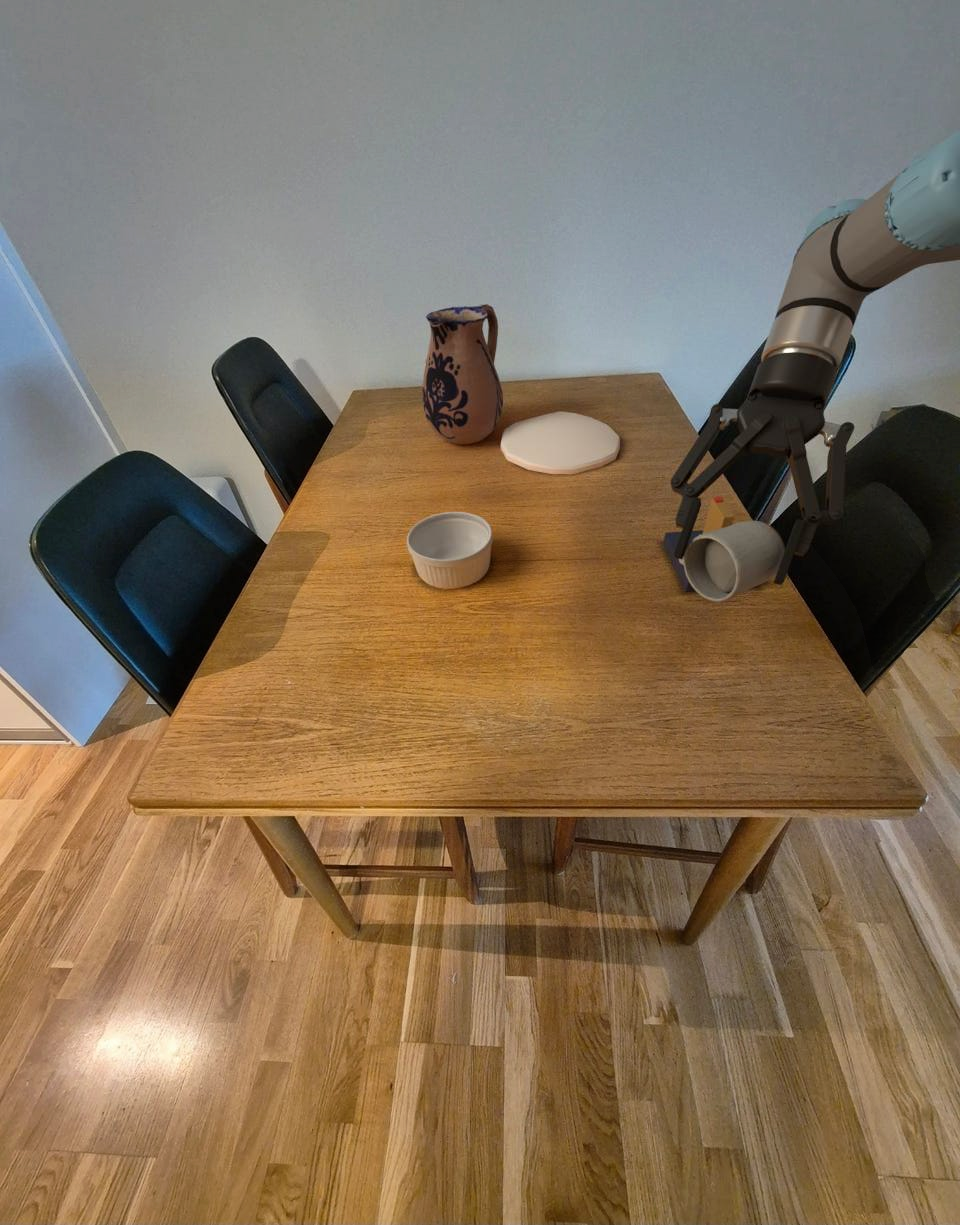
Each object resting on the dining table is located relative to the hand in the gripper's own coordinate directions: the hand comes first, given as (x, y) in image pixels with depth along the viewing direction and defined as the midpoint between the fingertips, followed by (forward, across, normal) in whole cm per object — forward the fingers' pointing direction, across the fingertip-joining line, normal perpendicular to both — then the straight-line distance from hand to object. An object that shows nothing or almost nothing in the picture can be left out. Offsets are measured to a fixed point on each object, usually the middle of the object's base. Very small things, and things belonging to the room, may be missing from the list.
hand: (726, 569), depth 57 cm
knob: (-5, +4, -23) cm, 24 cm away
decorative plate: (-22, +41, -45) cm, 65 cm away
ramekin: (+9, +39, -14) cm, 42 cm away
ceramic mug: (+1, +1, -5) cm, 5 cm away
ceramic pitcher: (-22, +63, -45) cm, 80 cm away
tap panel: (-3, +4, -26) cm, 26 cm away
